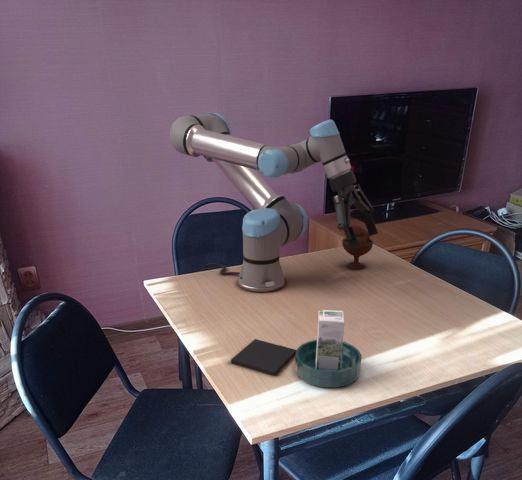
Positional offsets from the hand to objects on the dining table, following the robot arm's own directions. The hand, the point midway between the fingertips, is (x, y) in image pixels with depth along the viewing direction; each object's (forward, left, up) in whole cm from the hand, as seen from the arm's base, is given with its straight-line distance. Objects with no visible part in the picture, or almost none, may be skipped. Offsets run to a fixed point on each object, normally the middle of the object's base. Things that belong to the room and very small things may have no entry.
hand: (365, 241), depth 156 cm
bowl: (+10, -52, -16) cm, 55 cm away
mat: (-6, -54, -16) cm, 56 cm away
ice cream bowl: (-8, +18, -16) cm, 25 cm away
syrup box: (+10, -52, -15) cm, 55 cm away
